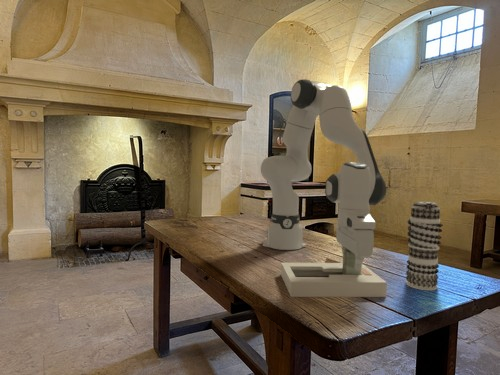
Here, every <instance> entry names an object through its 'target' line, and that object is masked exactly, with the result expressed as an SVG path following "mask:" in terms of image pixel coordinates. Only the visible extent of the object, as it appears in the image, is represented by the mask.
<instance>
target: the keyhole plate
mask: <svg viewBox="0 0 500 375" xmlns="http://www.w3.org/2000/svg"><path fill="white" fill-rule="evenodd" d="M342 272H343V262H340V263H325V262H281V264H280V276H281V278H282V280H283V282H284V285H285V287H286V290H287V291H288V295H289V296H290V298H294V297H295V298H299V297H300V298H308V297H309V298H319V297H320V298H326V297H327V298H387V283H388V282H387V281H386V280H384V279H383V278H382V277H380V276H379V275H378V274H376V273H375V272H374V271H372V270H371V269H370V268H368V267H367V266H366V265H364V264H363V263H362V269H361V275H342Z"/></svg>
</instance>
